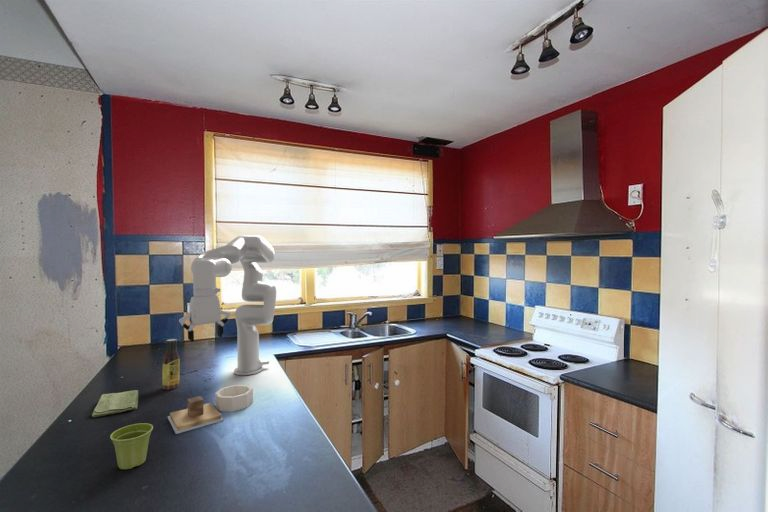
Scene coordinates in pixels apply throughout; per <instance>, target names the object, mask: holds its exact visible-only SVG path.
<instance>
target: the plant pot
mask: <svg viewBox="0 0 768 512" xmlns="http://www.w3.org/2000/svg"><path fill="white" fill-rule="evenodd" d="M153 430H154V426H153V424H150V423H147V422H145V423H144V422H143V423H141V422H140V423H134V424H130V425H129V424H128V425H126V426H123V427H120V428H118V429H116V430H114V431H113V432H112V433H111V434H110V436H109V438H110V440H111V441H112V444H113V445H114V451H115V455H116V456H115V457H116V462H117V467H118V468H119V469H120V470H130V469H131V470H132V469H133V468H134V467H138V466H140V465H143V464H144V463H145V462H146V459H147V454H148V447H149V443H150V442H149V441H150V436H151V434H152V431H153Z"/></svg>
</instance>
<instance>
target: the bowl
mask: <svg viewBox="0 0 768 512" xmlns="http://www.w3.org/2000/svg"><path fill="white" fill-rule="evenodd" d="M214 394H215V395H214V401H215V402H214V403H215V404H214V407H215V408H216V409H217V410H218V412H228V411H229V412H230V413H234V412H236V410H237V411H240V409H241V410H244V409H247V408H248V407H249V406H250V405H252V404H253V403H252V402H254V395H253V394H254V388H253V387H251V386H250V385H248V384H234V385H233V384H232V385H228V386H226V387H222V388H220V389H219V390H217V391H216V392H215V393H214ZM246 407H247V408H246ZM243 408H244V409H243Z"/></svg>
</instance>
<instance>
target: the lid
mask: <svg viewBox="0 0 768 512" xmlns="http://www.w3.org/2000/svg"><path fill="white" fill-rule="evenodd" d="M169 416H170V417H171V419H172V421H173V423H174V425H175V427H176V429H177V431H179V430H183V429H187V428H190V427H194V426H197V425H201V424H204V423H208V422H211V421H215V420H219V419H222V418H223V416H222V414H221V413H220V411H219V410H218V409H217V408H216V407H215V405H213V403H212V402H209V403H208V402H207V403H204V399H203V397H202V396H201V395H199V396H194V397H190V398H187V408H185V409H180V410H175V411H173V412H170V413H169Z"/></svg>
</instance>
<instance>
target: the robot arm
mask: <svg viewBox="0 0 768 512" xmlns="http://www.w3.org/2000/svg"><path fill="white" fill-rule="evenodd" d="M275 255H276V254H275V250H274V247H273V246H272V245H271V244H270V243H269V242H268V240H266V239H265V238H264V237H263V236H261V235H239V236H237V237H235V238H234V239H232V240H231V241H230V242H228V243H227V244H225V245H223V246H222V245H221V246H220V247H216V248H213V249H210V250H207V251H204V252H202V253H201V254H199V255H198V256H197V257H195V258H194V259H193V260H192V263H191V267H190V269H191V273H192V286H193V287H192V288H193V296H191V298H190V301H189V312H188V313H187V314H186V315H184V316H182V317H181V318H179V319H178V321H179V323H180V325H181V326H182V327H183V328H184V329H186V330H187V339H188V340H189V341H190V342H191V343H193V342H195V338H194V337H195V334H194V333H195V331H194V330H193V329H194V328H195V326H201V325H209V324H214V323H217V324H218V325H217V336H218V337H219V338H222V337H223V335H224V326H225V325H226V324H227V322H228V321H229V318H230V316H231V313H230V312H228V311H224V310H222V309H221V303H220V298H219V297H220V296H219V295H217V294H218V293H220V292H221V288H217V278H225V277H227V276H228V275H230V273H232V272H231V271H232V270H233V269H232V268H233V266H232V265H233V264H237V263H238V262H240V263H241V266H242V268H243V273H244V274H243V281H242V282H243V283H242V290H241V298H242V301H244V302H248V303H263V304H242V305H239V306H238V307H237V308H236V309H235V311H234V316H235V324H236V329H237V330H236V331H237V367H236V368H234V370H233V373H234V374H235V375H236V376H250V375H256V374H258V373H261V372H262V371H263V365H265V366H266V365H269V364H270V361H269V359H267V360H264V359H261V360H260V343H259V342H260V339H259V338H260V333H259V330H258V328H257V327H256V326H268V325H271V324H272V323H273V321H274V317H275V311H276V310H275V309H276V303H277V302H276V300H277V287H276V285H275V284H274V283H272V282H269V281H268V282H263V275H264V274H263V273H264V272H263V270H262V269H261V267H260V266H259V265H258V264H270V263H273V261H274V259H275ZM222 315H224V318H222ZM187 320H189V324H187V323H186V321H187Z"/></svg>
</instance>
